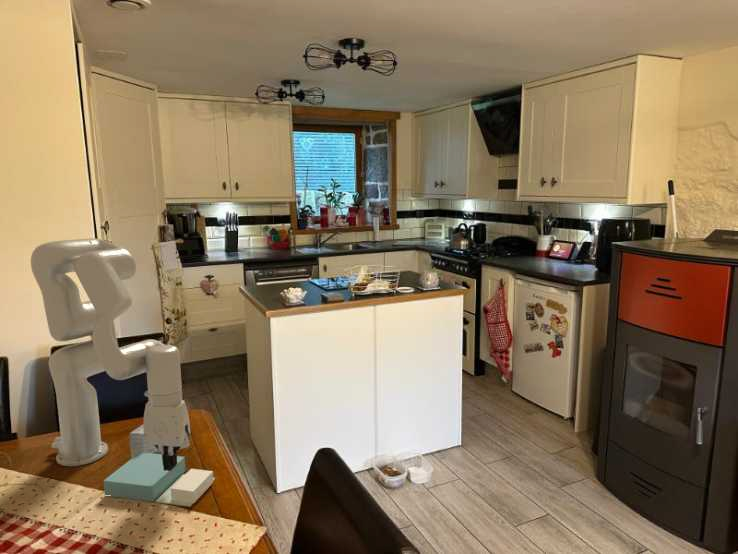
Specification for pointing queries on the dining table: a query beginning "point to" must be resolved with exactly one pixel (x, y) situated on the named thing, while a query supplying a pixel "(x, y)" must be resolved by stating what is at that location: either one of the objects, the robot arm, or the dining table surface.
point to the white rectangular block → (192, 485)
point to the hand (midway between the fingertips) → (170, 467)
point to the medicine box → (140, 443)
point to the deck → (143, 478)
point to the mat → (167, 497)
